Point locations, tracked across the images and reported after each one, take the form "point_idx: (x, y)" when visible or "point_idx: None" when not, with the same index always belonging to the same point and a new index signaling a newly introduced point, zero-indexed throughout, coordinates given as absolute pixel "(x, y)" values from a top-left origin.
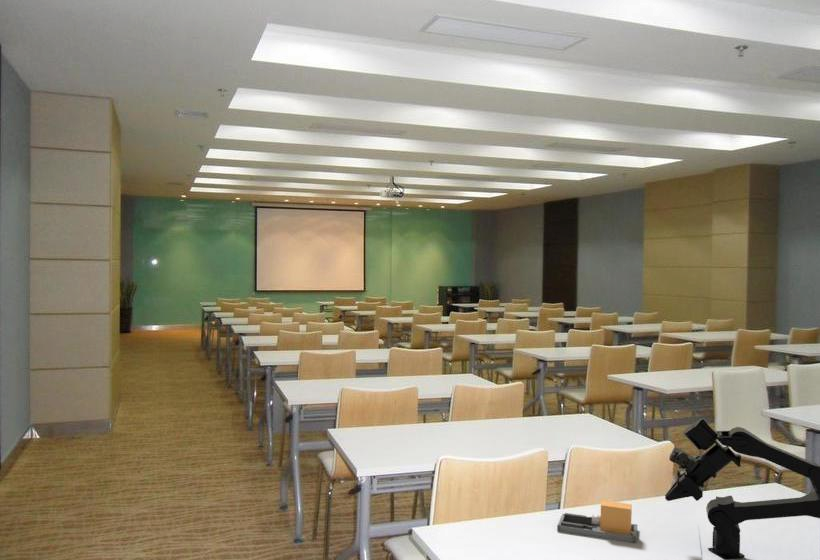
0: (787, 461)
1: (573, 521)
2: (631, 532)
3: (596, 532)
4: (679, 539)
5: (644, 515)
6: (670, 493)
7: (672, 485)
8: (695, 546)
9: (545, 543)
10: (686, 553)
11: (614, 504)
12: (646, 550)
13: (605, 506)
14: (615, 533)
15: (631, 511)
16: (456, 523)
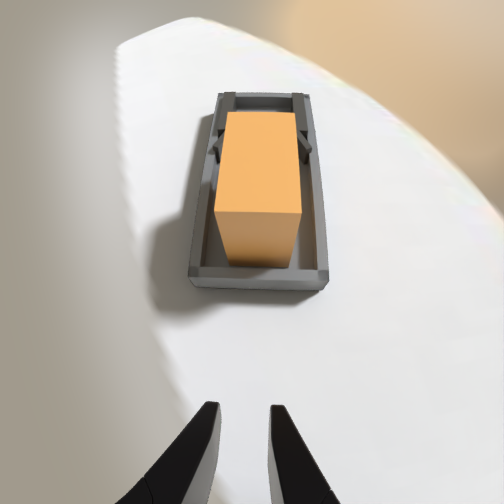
0: None
1: None
2: (288, 268)
3: (205, 165)
4: (329, 431)
5: (480, 301)
6: (168, 450)
7: (330, 491)
8: None
9: (167, 105)
10: None
11: (259, 147)
12: (180, 321)
13: (227, 125)
14: (203, 212)
15: (284, 229)
16: (223, 26)
